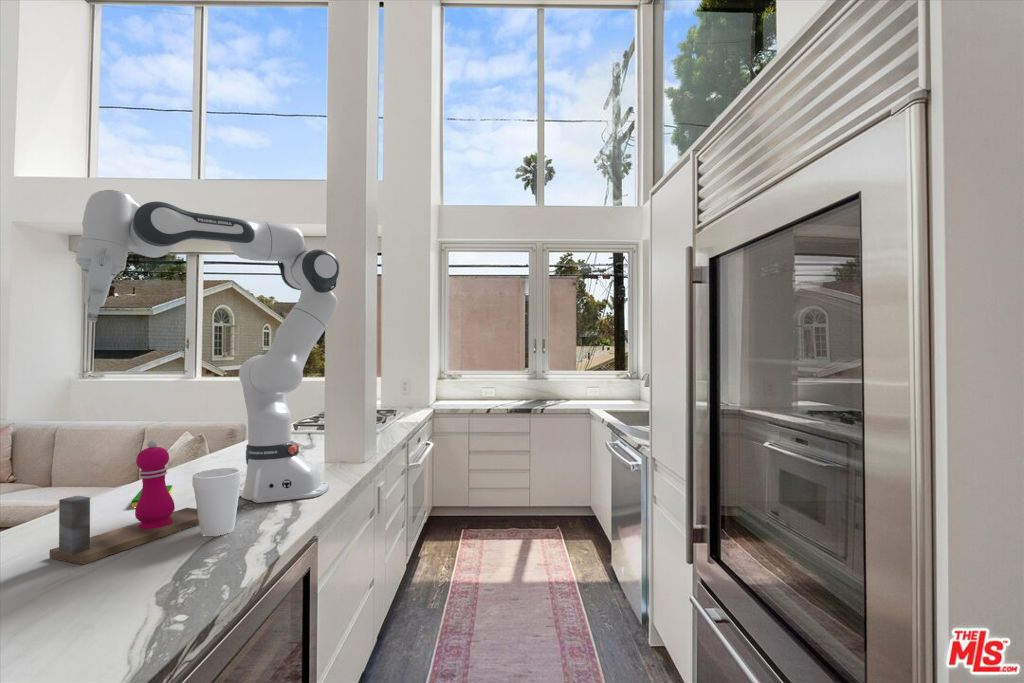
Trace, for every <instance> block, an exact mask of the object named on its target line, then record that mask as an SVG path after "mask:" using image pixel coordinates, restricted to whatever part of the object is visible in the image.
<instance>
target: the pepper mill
mask: <svg viewBox="0 0 1024 683" xmlns="http://www.w3.org/2000/svg"><path fill="white" fill-rule="evenodd" d="M169 461H170V454H169V452H168V450H167V449H166V448H164V447H160V446H158V442H157V441H156V440H154V439H153V440H149V441H148V442H147V448H144V449H142V450H141V451H139V453H138V454H137V455H136V461H135V462H136V466H137V467H138V469H140V471H139V478H140V479H141V480H142V488H141V489H142V493H141V496H140V498H139V501H138V503H137V506H136V508H134V509H135V510H134V515H135V516H134V517H135V518H136V520H138V521H139V522H142V523H140V524H139V526H138V527H139V528H140V529H154V528H159V527H163V526H167V525H169V524H171V523H172V522H173V519H172V518H171V517H170V515H171V514H172V513H173V512H174V511H175V509H176V507H175V501H174V498H173V497H172V494H171V495H170V493H169V492H168V490H167V487H166V486H167V484H166V475H167V474H168V471H167V469H168V467H167V466H166V465H167V464H169Z"/></svg>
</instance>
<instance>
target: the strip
mask: <svg viewBox="0 0 1024 683" xmlns="http://www.w3.org/2000/svg"><path fill="white" fill-rule="evenodd" d="M58 504H59V507H58V512H59V513H58V517H59V518H58V546H57V547H55V548H51V549H49V558H50V559H54V560H58V561H63V562H64V561H65V562H68V563H73V564H75V565H76V564H77V565H82V566H83V565H85V564H88V563H91V562H93V561H97V560H100V559H102V558H106V557H108V555H109V556H111V555H113V553H114V554H117V553H120V552H122V550H123V551H125V549H126V550H129V549H131V548H130V547H132V548H133V546H135V547H137V546H140V545H143V544H146V543H149V542H151V541H155V540H157V538H158V539H161V538H163V537H166V536H168V534H169V535H172V534H174V532H175V533H177V532H176V531H178V532H180V531H179V530H181V531H183V530H182V529H184V530H186V529H185V528H187V529H189V528H191V527H190V526H192V527H194V526H193V525H195V526H197V524H198V525H199V518H198V512H197V508H195V507H194V508H193V507H185V508H181V509H178V510H174V511H173V513H172V514H171V515H170V517H171V518H172V519H173V522H172V523H171V524H169V525H167V526H163V527H159V528H154V529H140V528H139V527H138V526H139V524H140V523H142V522H140V521H139V522H135V523H132V524H129V525H126V526H123V527H119V528H116V529H113V530H108V531H106V532H103V533H100V534H96V535H93V536H91V496H90V497H89V496H85V495H84V496H83V495H73V496H70V497H66V498H61V499H59V501H58ZM188 527H189V528H188ZM171 533H172V534H171ZM160 537H161V538H160ZM148 541H149V542H148ZM142 543H143V544H142ZM139 544H140V545H139ZM136 545H137V546H136ZM128 548H129V549H128Z"/></svg>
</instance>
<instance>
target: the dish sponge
mask: <svg viewBox="0 0 1024 683" xmlns="http://www.w3.org/2000/svg"><path fill="white" fill-rule="evenodd" d="M166 487H167V490H168V492H169V493H171V491H172V492H173V485H172V484H170V485H169V484H168V485H166ZM141 493H142V488H141V489H140V491H138V492H137V493H136V495H135V496H134V497H133V499H132V500H131V509H135V508H134V507H136V506H137V503H138V501H139V498H140V496H141ZM171 494H172V493H171Z"/></svg>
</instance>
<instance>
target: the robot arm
mask: <svg viewBox="0 0 1024 683" xmlns="http://www.w3.org/2000/svg"><path fill="white" fill-rule="evenodd" d="M81 225H82V233H81V234H82V235H81V236H80V238H79V240H78V246H77V251H76V256H75V257H76V258H75V262H76V263H77V264H78V265H79V266H80V268H81V272H82V273H83V278H84V283H83V284H84V285H83V293H84V294H83V302H84V304H85V305H86V306H87V315H86V320H87V322H89V323H90V322H91V323H96V322H97V320H98V316H99V313H100V309H101V307H104V306H105V304H106V301H107V297H108V294H109V291H110V288H111V285H112V283H113V280H114V279H115V278H116V277H117V276H118V274H120V273H121V272H123V271H125V270H126V266H127V260H128V252H131V253H134V254H137V255H139V256H143V257H146V258H150V259H151V258H152V259H154V258H155V259H157V258H162V257H164V256H167V255H168V254H169V253H170V252H171V251H172V250H173V249H174V247H175V246H177V245H178V244H180V243H181V242H184V241H188V240H189V241H191V240H197V241H206V242H215V243H216V242H217V243H218V242H219V243H224V244H227V245H229V247H230V249H231V250H232V251H231V252H233V254H234V255H236V256H237V257H238V258H240V259H245V260H249V261H259V262H260V261H261V262H277V266H278V268H279V271H280V276H281V280H283V283H284V284H285V285H286V286H287V287H289V288H291V289H293V290H297V291H300V295H299V298H298V300H297V302H296V303H295V304H294V306H292V308H291V310H290V311H289V312H288V314H287V315H286V316H285V318H284V319H283V320H282V322H281V324H280V325H279V326H278V328H277V329H276V330H275V337H274V339H273V340H272V344H271V345H270V348H269V349H268V351H267V352H266V353H265V354H258V355H253V356H252V357H250V358H248V359H247V360H245V361H244V362H243V363H242V364H241V365H240V368H239V371H238V377H239V380H240V383H241V385H242V391H243V397H244V401H245V408H246V412H247V413H246V414H247V444H246V445H245V446H246V449H245V461H246V462H245V463H246V465H247V466H246V475H245V480H244V481H245V482H244V486H243V488H242V493H241V498H242V499H244V500H248V501H253V503H257V504H260V503H270V502H280V501H288V500H289V501H290V500H298V499H308V498H316V497H318V496H321V495H323V494H325V493H326V492H327V491H328V490H329V489H330V488H329V487H330V486H329V483H328V481H321V480H322V479H321V473H320V470H319V467H318V466H317V465H316V464H315V463H312V461H309V460H308V459H306V458H305V457H303V456H302V455H301V454H299V452H300V451H299V450H300V443H299V442H298V443H296V442H295V441H293V440H292V413H291V410H290V409H289V406H288V403H287V399H286V394H288V393H290V392H292V391H294V390H296V389H297V388H299V386H300V385H301V383H302V381H303V378H304V377H303V376H304V372H303V371H304V368H305V366H306V363H307V360H308V359H309V357H310V354H311V352H312V350H313V348H314V347H315V346H316V344H317V342H318V341H319V340H320V338H321V336H322V335H323V333H324V332H325V331H326V329H327V328H328V326H329V324H330V322H331V321H332V319H333V317H334V315H335V313H336V310H337V308H338V304H339V300H338V298H337V296H336V294H335V293H334V292H333V290H334V289H336V287H337V281H338V277H339V275H340V274H339V273H340V264H339V260H338V258H337V257H336V256H335V255H334V254H333V253H331V251H328V250H325V249H312V250H309V249H308V248H307V247H306V245H305V244H306V243H305V237H304V234H303V233H302V231H301V230H300V229H299V228H298V227H295V226H294V225H290V224H287V223H280V222H275V221H269V220H268V221H267V220H255V219H254V220H253V219H239V218H234V217H229V216H223V215H222V216H221V215H213V214H205V213H200V212H193V211H188V210H185V209H183V208H180V207H177V206H176V205H173V204H171V203H168V202H164V201H148V202H146V203H144V204H142V205H140V204H139V203H137V202H136V201H135V200H134V199H133V198H132V196H131V195H130V194H127V193H126V192H122V191H118V190H113V189H104V190H99V191H96V192H94V193H92V194H91V195H90V196H89V198H88V200H87V202H86V204H85V209H84V212H83V216H82V223H81Z"/></svg>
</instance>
